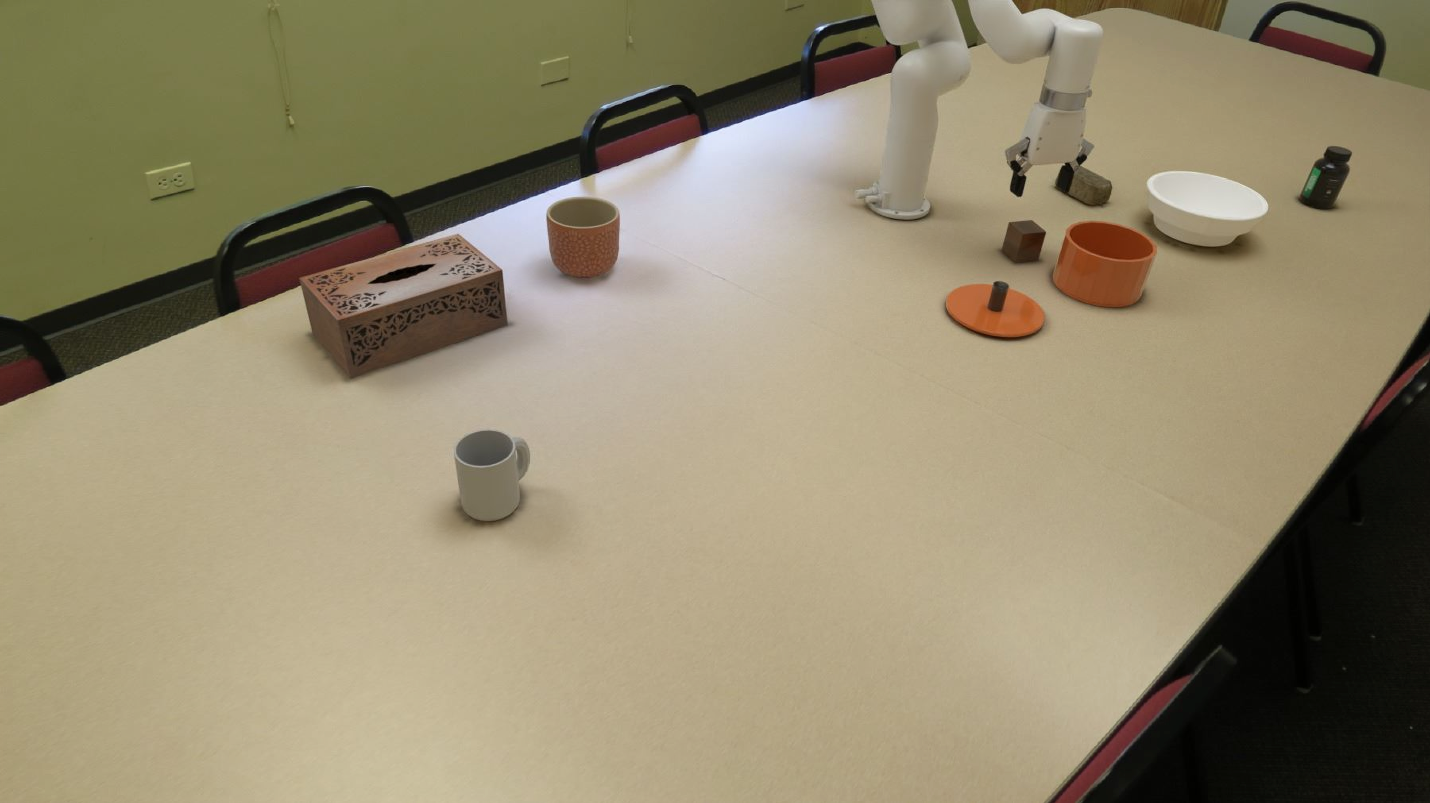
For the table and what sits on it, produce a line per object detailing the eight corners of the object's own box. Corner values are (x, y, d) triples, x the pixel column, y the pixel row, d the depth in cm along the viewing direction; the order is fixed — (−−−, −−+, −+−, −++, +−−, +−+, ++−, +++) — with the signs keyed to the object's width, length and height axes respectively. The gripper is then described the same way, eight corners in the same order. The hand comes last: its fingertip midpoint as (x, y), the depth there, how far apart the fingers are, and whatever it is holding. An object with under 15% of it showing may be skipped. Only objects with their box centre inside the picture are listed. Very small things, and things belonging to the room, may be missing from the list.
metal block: (1015, 263, 178) (1022, 234, 175) (1001, 250, 182) (1008, 222, 179) (1038, 260, 180) (1046, 231, 176) (1024, 248, 184) (1032, 219, 180)
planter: (632, 262, 171) (632, 206, 165) (597, 293, 162) (595, 234, 155) (573, 246, 175) (571, 190, 169) (535, 274, 166) (531, 217, 159)
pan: (1084, 311, 165) (1099, 265, 160) (1036, 268, 177) (1048, 224, 172) (1158, 302, 169) (1176, 257, 164) (1107, 261, 181) (1121, 217, 176)
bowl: (1246, 220, 199) (1262, 182, 194) (1258, 268, 182) (1275, 228, 177) (1133, 200, 204) (1146, 163, 199) (1134, 245, 187) (1148, 205, 182)
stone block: (1090, 208, 200) (1097, 186, 197) (1050, 187, 208) (1056, 165, 205) (1109, 204, 202) (1117, 181, 199) (1070, 183, 210) (1076, 161, 207)
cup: (449, 503, 119) (441, 448, 114) (512, 465, 126) (507, 411, 120) (486, 531, 116) (479, 476, 110) (549, 491, 122) (545, 437, 117)
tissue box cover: (350, 378, 139) (337, 320, 133) (312, 334, 148) (299, 277, 142) (507, 325, 153) (502, 269, 147) (464, 287, 161) (458, 233, 155)
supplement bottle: (1299, 205, 206) (1323, 152, 199) (1297, 193, 212) (1320, 141, 204) (1334, 212, 205) (1360, 158, 197) (1331, 200, 210) (1355, 147, 203)
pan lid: (974, 345, 155) (982, 315, 151) (928, 294, 167) (934, 266, 164) (1061, 334, 159) (1071, 304, 156) (1010, 285, 171) (1018, 257, 168)
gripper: (1093, 88, 168) (1068, 179, 178) (1006, 93, 164) (986, 187, 174) (1119, 102, 162) (1092, 196, 172) (1030, 108, 158) (1007, 204, 168)
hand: (1039, 191), depth 173 cm, fingers open, 9 cm apart
